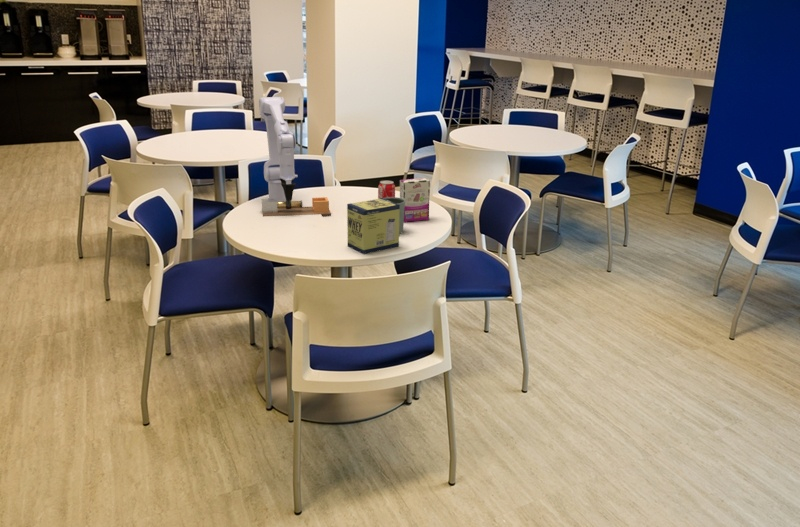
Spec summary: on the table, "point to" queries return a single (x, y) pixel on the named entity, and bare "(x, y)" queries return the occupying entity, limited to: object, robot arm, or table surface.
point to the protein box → (373, 225)
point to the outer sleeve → (269, 206)
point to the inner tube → (289, 204)
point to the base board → (297, 212)
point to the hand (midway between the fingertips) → (288, 197)
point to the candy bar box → (415, 199)
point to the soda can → (386, 189)
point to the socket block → (320, 204)
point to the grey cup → (401, 213)
